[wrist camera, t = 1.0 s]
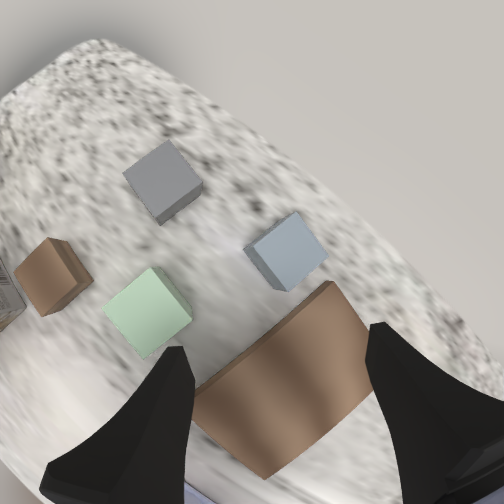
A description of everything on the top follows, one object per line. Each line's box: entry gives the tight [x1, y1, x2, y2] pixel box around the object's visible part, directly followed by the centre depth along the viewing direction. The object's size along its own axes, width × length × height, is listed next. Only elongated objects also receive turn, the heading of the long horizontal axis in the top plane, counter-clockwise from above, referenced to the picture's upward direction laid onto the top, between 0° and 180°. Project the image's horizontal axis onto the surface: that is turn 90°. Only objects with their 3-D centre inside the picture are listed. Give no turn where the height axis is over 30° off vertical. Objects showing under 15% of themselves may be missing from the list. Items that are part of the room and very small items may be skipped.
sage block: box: [102, 267, 193, 360], centre depth 20 cm, size 4×4×6 cm
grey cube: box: [122, 140, 203, 226], centre depth 22 cm, size 4×4×4 cm
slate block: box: [243, 212, 329, 292], centre depth 24 cm, size 4×4×4 cm
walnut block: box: [14, 237, 94, 317], centre depth 20 cm, size 4×4×4 cm
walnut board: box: [192, 281, 373, 480], centre depth 24 cm, size 16×11×2 cm
